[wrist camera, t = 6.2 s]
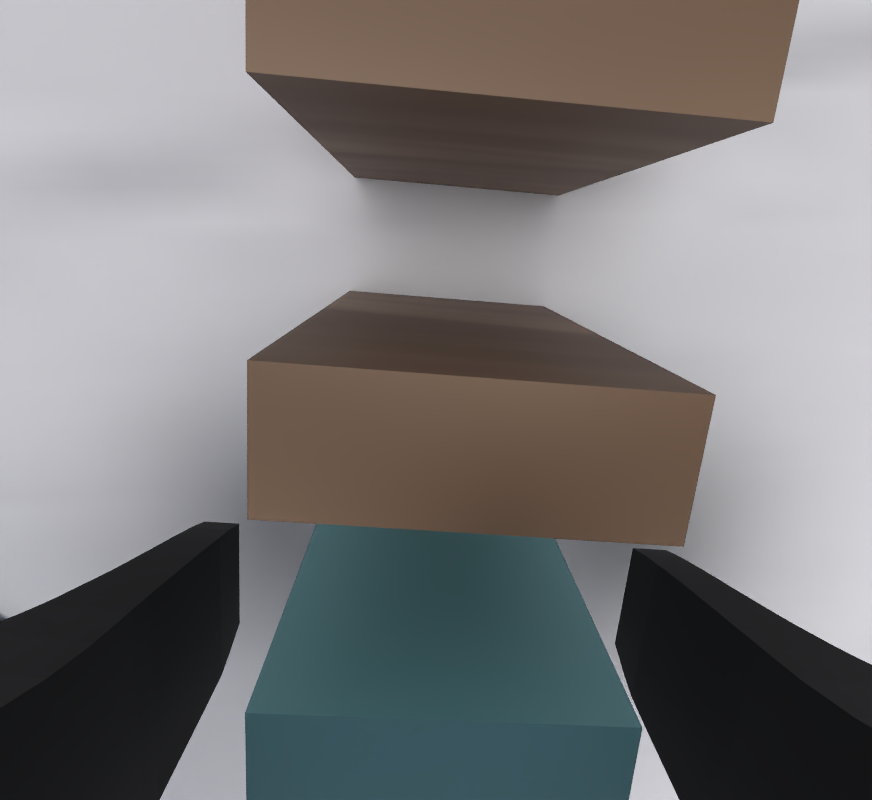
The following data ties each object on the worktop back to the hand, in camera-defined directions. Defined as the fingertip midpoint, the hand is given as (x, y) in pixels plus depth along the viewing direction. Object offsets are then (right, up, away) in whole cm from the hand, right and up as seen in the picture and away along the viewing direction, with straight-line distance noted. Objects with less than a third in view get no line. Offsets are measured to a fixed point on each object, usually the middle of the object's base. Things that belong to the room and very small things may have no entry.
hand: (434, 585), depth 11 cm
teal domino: (0, +1, +4) cm, 4 cm away
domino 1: (+1, +9, +2) cm, 9 cm away
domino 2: (0, +5, +3) cm, 6 cm away
